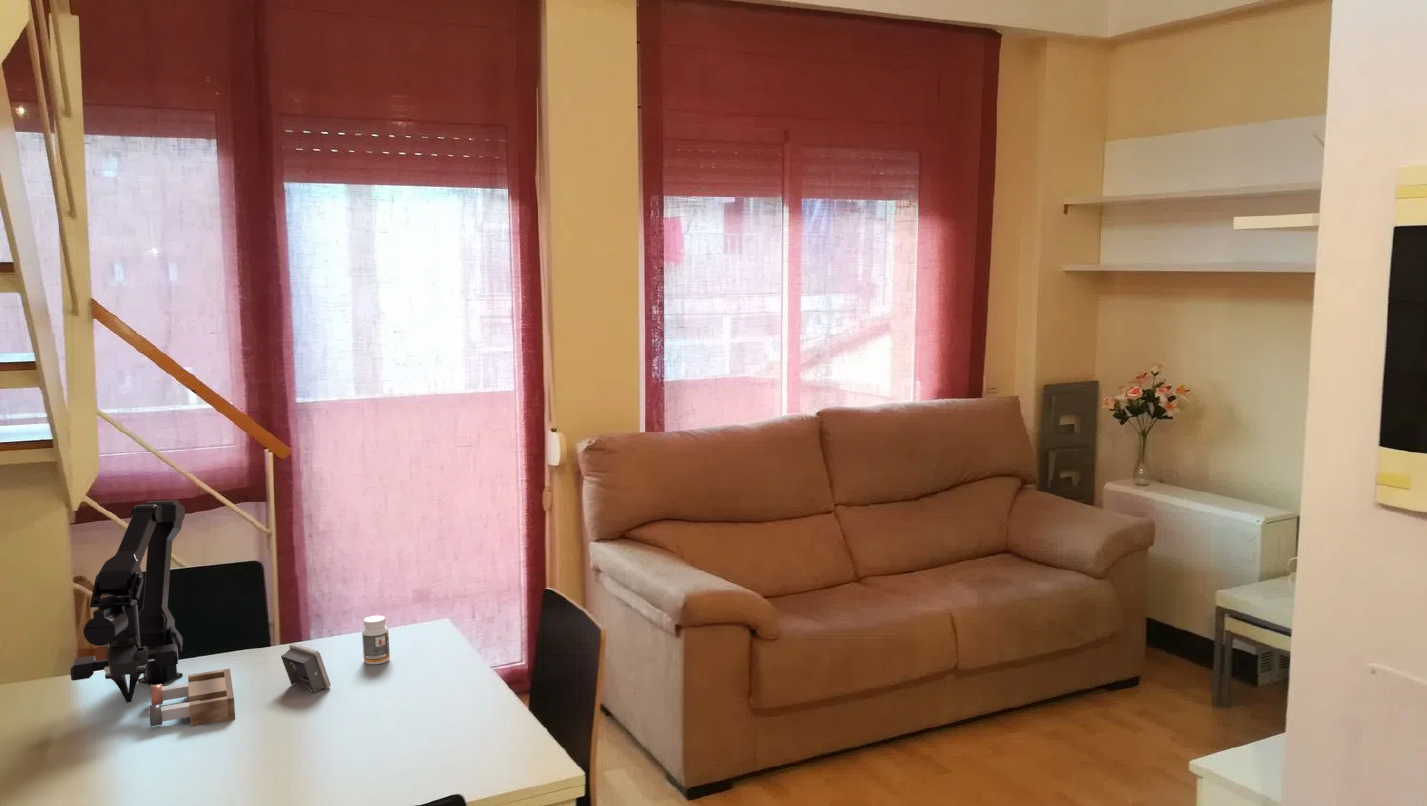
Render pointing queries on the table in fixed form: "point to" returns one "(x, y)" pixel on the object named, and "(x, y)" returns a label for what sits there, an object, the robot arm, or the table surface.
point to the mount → (211, 697)
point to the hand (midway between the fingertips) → (129, 702)
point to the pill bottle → (375, 640)
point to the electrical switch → (305, 668)
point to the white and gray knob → (168, 712)
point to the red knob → (168, 692)
